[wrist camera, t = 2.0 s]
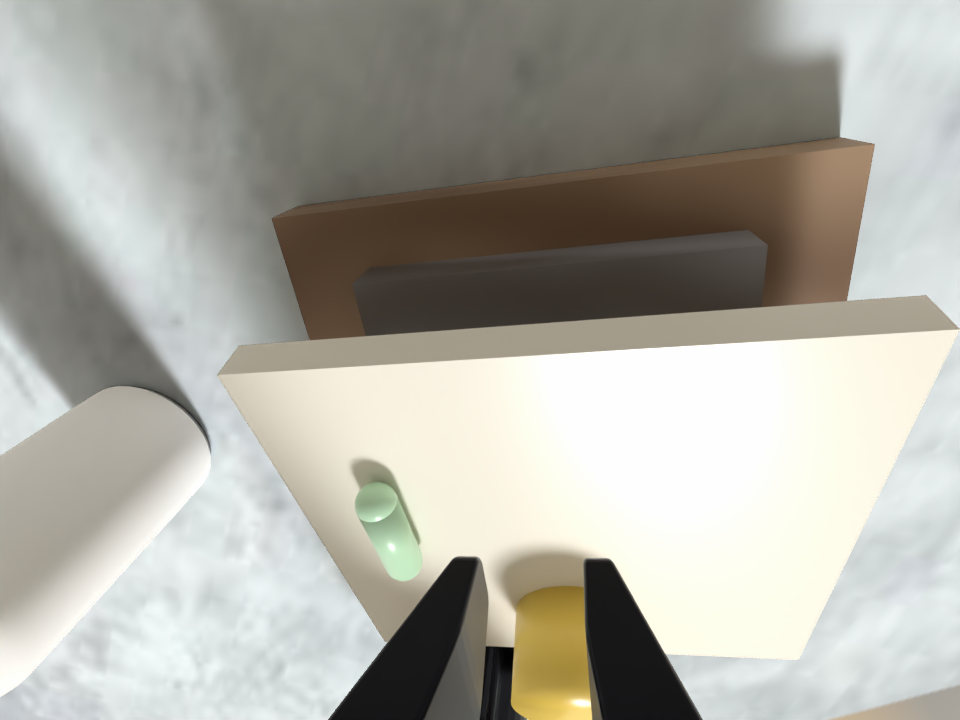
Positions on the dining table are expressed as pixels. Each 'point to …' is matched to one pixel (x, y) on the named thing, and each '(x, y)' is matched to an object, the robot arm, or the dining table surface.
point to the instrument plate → (601, 467)
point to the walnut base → (585, 243)
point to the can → (86, 512)
